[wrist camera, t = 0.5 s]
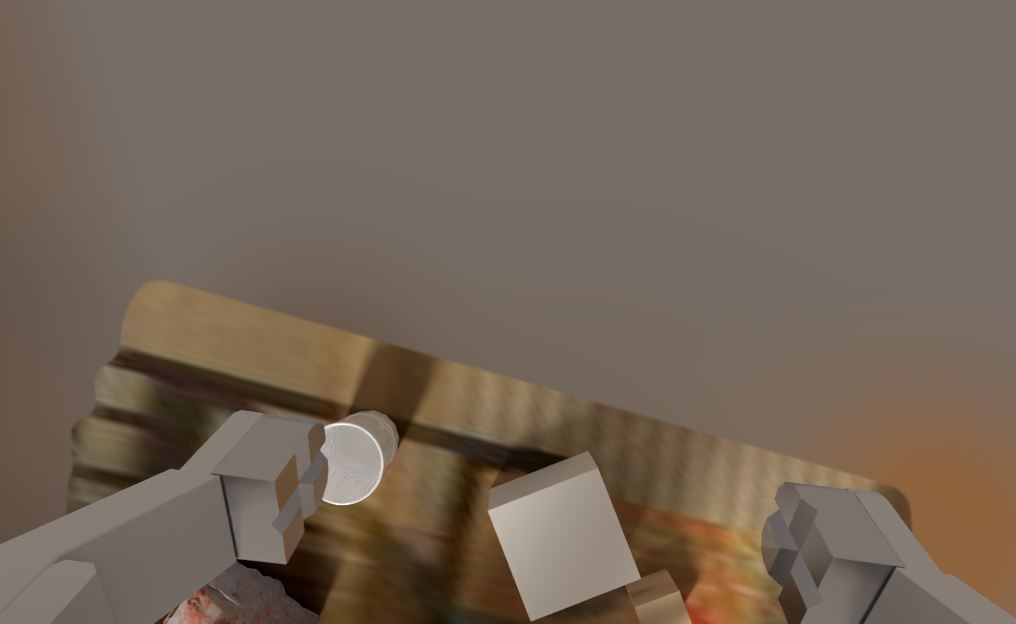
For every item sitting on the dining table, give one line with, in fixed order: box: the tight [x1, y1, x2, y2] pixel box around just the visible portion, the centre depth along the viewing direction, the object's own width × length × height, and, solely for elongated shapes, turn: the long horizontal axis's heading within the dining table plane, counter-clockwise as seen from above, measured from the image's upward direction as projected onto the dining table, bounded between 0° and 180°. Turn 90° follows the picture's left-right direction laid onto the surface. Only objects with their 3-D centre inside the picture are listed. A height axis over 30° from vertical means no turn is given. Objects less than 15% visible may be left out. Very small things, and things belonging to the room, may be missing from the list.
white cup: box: [320, 410, 399, 505], centre depth 56 cm, size 8×8×10 cm
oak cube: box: [625, 568, 692, 624], centre depth 58 cm, size 5×5×5 cm
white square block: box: [488, 451, 641, 621], centre depth 57 cm, size 12×12×7 cm
